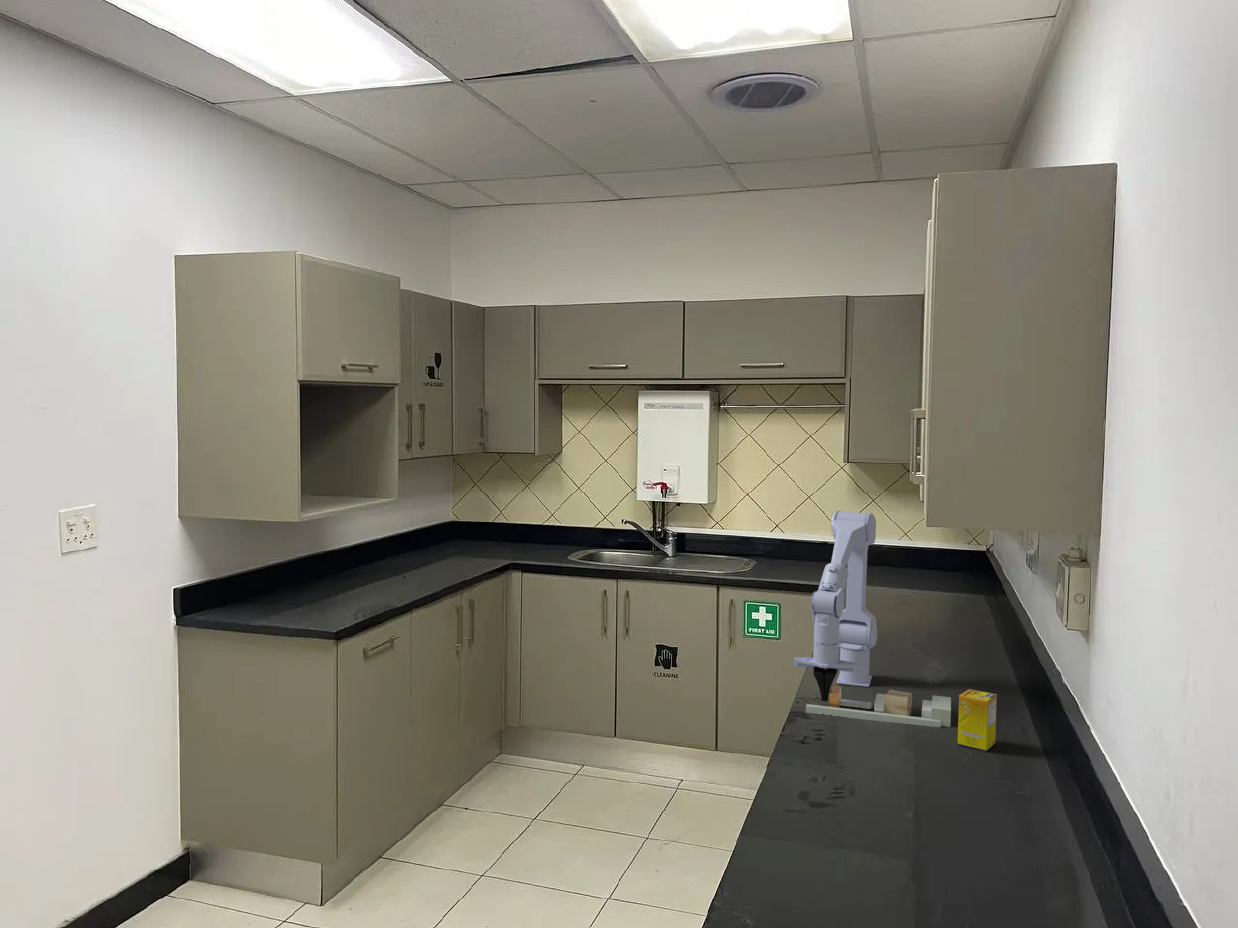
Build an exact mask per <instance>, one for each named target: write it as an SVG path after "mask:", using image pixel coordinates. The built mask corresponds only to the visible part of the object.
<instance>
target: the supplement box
mask: <svg viewBox="0 0 1238 928" xmlns="http://www.w3.org/2000/svg"><path fill="white" fill-rule="evenodd" d="M997 697H998V694H996V693H991V692H986V691H980V690H975V689H970V688H969V689H966V691H964V692H962V693H961V694H959V695H958V719H957V720H958V722H957V723H958V724H957V747H961V748H964V749H965V748H966V749H969V750H973V751H974V750H975V751H978V750H979V752H982V751H984V752H983V753H988V752H989V751H990V750H991V749H992V748H993V747H994V746H995V745H996V736H997V735H996V734H997V732H996V731H997V730H996V729H997V705H998V704H997V700H998V698H997ZM994 744H995V745H994ZM993 745H994V746H993ZM992 746H993V747H992ZM991 747H992V748H991ZM990 748H991V749H990ZM989 749H990V750H989ZM988 750H989V751H988ZM987 751H988V752H987Z"/></svg>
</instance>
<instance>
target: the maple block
mask: <svg viewBox="0 0 1238 928" xmlns="http://www.w3.org/2000/svg"><path fill="white" fill-rule="evenodd" d="M884 694H885V695H884V713H887V714H895V715H904V716H911V715H912V703H913V701H912V697H913V696H912V695H913V694H912V693H911V692H906V691H900V690H894V689H888V691H887V692H886V693H884Z"/></svg>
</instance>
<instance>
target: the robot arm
mask: <svg viewBox="0 0 1238 928" xmlns="http://www.w3.org/2000/svg"><path fill="white" fill-rule="evenodd" d="M830 527H831V528H830V529H831V533H832V536H833V539H834V545H833V550H832V556H831V562H830V563H827V564H826V565H825V567H824V570H823V572H822V576H821V578H820V581H819V582H820V583H819V585H818V590H817V591H814V592H813V593H812V596H811V599H810V600H811V601H810V611H811V615H812V616H811V617H812V618H811V620H812V622H813V623H814V625H813V657H812V656H811V657H808V656H807V657H805V656H803V657H801V656H795V657H794V658H793V667H794V668H798V667H802V668H811V669H813V671H812V672H813V677H814V679H815V680H816V683H817V686H818V689H819V691H820V692H819V693H820V697H821V702H828V701H829V697H830V691H831V689H832V686H833V685H832V684H833V682H834V680H835V677H836V676H837V674H838V672H839V674H838V677H837V680H836V684H839V685H849V686H856V687H866V688H868V687H870V685H871V681H872V679H873V676H872V675H870V651H871V650H870V649H872V648H874V647H875V645H876V644H877V639H878V627H877V618H876V617H875V616H874V614H872V613H871V612H870V611H869V610H867V608H866V598H867V596H866V595H867V573H868V572H867V570H868V551H869V546H870V545H874V544H875V543H876V534H877V533H876V532H877V530H876V529H877V521H876V516H875V515H874V513H873V512H868V513H867V512H855V511H840V510H835V511H834V513H832V516H831V521H830ZM845 589H846V594H845V593H844V592H845ZM845 596H846V598H845ZM845 599H846V600H845ZM845 603H846V604H845ZM844 607H845V609H844Z"/></svg>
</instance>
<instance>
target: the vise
mask: <svg viewBox="0 0 1238 928" xmlns="http://www.w3.org/2000/svg"><path fill="white" fill-rule="evenodd" d="M805 713H808V714H815V715H822V714H824V716H830V715H832V716H833V717H839V716H840V718H849V719H856V720H857V719H858V720H864V721H866V720H868V721H873V722H874V721H876V722H884V723H895V724H906V725H913V726H923V727H924V726H925V727H935V728H941V727H947V728H948V727H951V718H952V698H951V697H950V696H944V695H941V696H940V695H931V700H926V699H922V707H921V716H911V715H910V716H904V715H895V714H887V713H878V712H874V711H871V710H870V711H868V710H860V709H851V708H844V707H843V708H842V707H840V708H835V707H829V706H827V705H826V706H825V705H818V704H809V703H807V704H806V705H805Z"/></svg>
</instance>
